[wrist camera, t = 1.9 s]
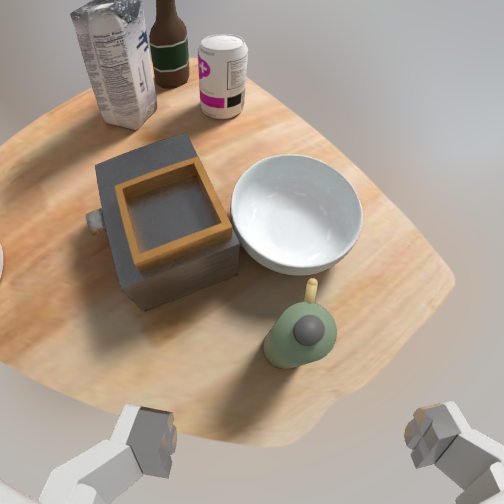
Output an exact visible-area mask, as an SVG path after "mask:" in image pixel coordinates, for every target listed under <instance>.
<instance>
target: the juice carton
mask: <svg viewBox="0 0 504 504" xmlns="http://www.w3.org/2000/svg"><path fill="white" fill-rule="evenodd" d="M71 18H72V21H73V24H74V27H75V30H76V34H77V37H78V41H79V45H80V48H81V52H82V56H83V59H84V63H85V66H86V69H87V72H88V75H89V79H90V82H91V85H92V88H93V91H94V94H95V97H96V100H97V103H98V106H99V109H100V112H101V115H102V117H103V120H104V122H105V123H108V124H112V125H118V126H122V127H125V128H128V129H132V130H137V129H139V128H140V126H141V125H142V124H143V123H144V122H145V121H146V120H147V119H148V118H149V117H150V116H151V115H152V114H153V113H154V112H155V111H156V109H157V99H156V92H155V86H154V81H153V75H152V68H151V62H150V56H149V49H148V42H147V35H146V28H145V20H144V13H143V0H94V1H92V2H89V3H88V4H86V5H84V6H82V7H81V8H79V9H77V10H75V11H73V12H72V13H71Z"/></svg>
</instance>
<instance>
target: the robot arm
mask: <svg viewBox="0 0 504 504" xmlns="http://www.w3.org/2000/svg"><path fill="white" fill-rule="evenodd" d="M2 270H3V251H2V247H1V244H0V279H1V275H2ZM413 416H414V419H413V420H412V421H410V422H409V423H408V425H407V426H406V428H405V434H404V437H405V442H406V445H407V446H408V447H409V448H410V449H412V453H411V457H412V460H413V462H414V465H415V467H416V469H417V468H421V467H425V466H428V465H432V464H435V466H436V467H437V468H439V469H440V470H441V471H442V472H443V473H444V474H446V475H447V476H448V477H449V478H450V479H452V480H453V481H454V482H455V483H456V484H457V485H459V486H460V487H461V488H462V489H463V490H465V491H464V492H463V493H462V494H460V495H459V496H458V497H457V498H456V500H455V501H456V504H504V446H503V445H501V444H499V443H498V442H496V441H494V440H492V439H491V438H488V437H487V436H485V435H484V434H482V433H480V432H478V431H477V430H475V429H473V430H471V428H470V426H469V425H468V423H467V421H466V420H465V418H464V416H463V415H462V413H461V412H460V410H459V408H458V407H457V405H456V403H454V402H453V401H450V402H445V403H441V404H435V405H430V406H426V407H421V408H418V409H417V410H416V411H415V413H414V415H413ZM173 421H174V416H173V412H167V411H162V410H157V409H152V408H147V407H142V406H137V405H132V404H128V403H127V404H126V405H125V406H124V407H123V409H122V412H121V414H120V416H119V419H118V421H117V423H116V426H115V428H114V430H113V432H112V435H111V437H110V439H109V440H103V441H102V442H100V443H98V444H97V445H95V446H93V447H92V448H91V449H88V450H87V451H85V452H84V453H82V454H80V455H78V456H77V457H75V458H73V459H72V460H70V461H68V462H66V463H65V464H63V465H61V466H59V467H58V468H56V469H54V470H52V473H51V475H50V477H49V479H48V481H47V483H46V485H45V487H44V489H43V492H42V493H41V496H40V498H39V500H38V501H37V500H35V499H33V498H31V497H29V496H28V495H26V494H24V493H22V492H21V491H19V490H17V489H16V488H14V487H12V486H10V485H9V484H7V483H6V482H4V481H3V480H1V479H0V504H110V503H111V502H113V501H114V500H115V499H116V498H117V497H119V496H120V495H121V494H122V493H123V492H125V491H126V490H127V489H128V488H129V487H130V486H132V485H133V484H134V483H135V482H136V481H137V480H138V479H140V478H141V477H142V476H143V474H146V475H151V476H156V477H162V478H169V474H170V469H171V466H172V460H171V457H170V455H171V454H173V453H174V452H175V447H176V441H177V430H176V427H175V426H174V425H173Z"/></svg>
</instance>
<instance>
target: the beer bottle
mask: <svg viewBox="0 0 504 504" xmlns="http://www.w3.org/2000/svg"><path fill="white" fill-rule="evenodd" d="M156 13H157V14H156V21H155V23H154V25H153V27H152V28H151V32H150V35H149V38H150V49H151V55H152V62H153V69H154V75H155V80H156V83H157V84H158V85H160V86H161V87H163V88H175V87H178V86H180V85H182V84H184V83H187V81H188V77H189V56H188V41H187V30H186V26H185V25H184V23H183V21H181V19H180V18H179V17H178V16H177V12H176V7H175V0H156Z"/></svg>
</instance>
